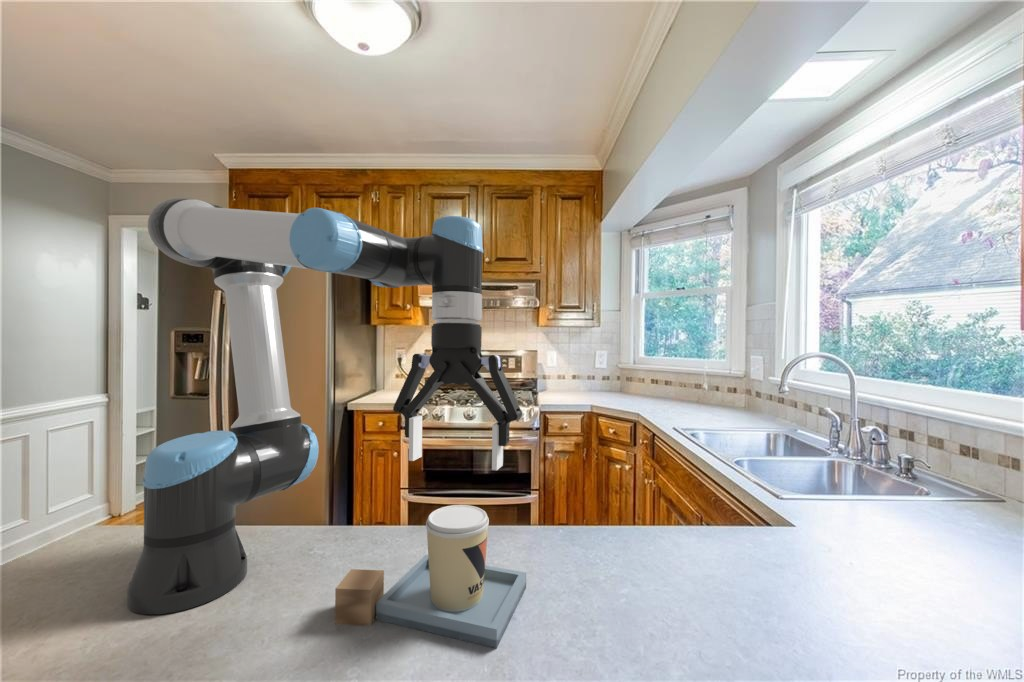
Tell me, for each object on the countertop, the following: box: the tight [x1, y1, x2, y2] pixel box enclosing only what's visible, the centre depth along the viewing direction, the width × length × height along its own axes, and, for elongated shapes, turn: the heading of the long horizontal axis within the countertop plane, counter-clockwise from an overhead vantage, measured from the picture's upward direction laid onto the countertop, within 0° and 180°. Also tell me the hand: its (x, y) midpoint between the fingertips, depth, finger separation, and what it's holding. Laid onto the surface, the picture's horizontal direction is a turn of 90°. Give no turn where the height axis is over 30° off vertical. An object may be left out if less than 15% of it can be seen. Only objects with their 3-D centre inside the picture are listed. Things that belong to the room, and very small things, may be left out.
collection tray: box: [375, 554, 527, 649], centre depth 63 cm, size 18×14×2 cm
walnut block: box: [334, 568, 385, 627], centre depth 61 cm, size 5×5×5 cm
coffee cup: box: [425, 504, 490, 612], centre depth 63 cm, size 9×9×12 cm
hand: (455, 463), depth 64 cm, fingers open, 13 cm apart
